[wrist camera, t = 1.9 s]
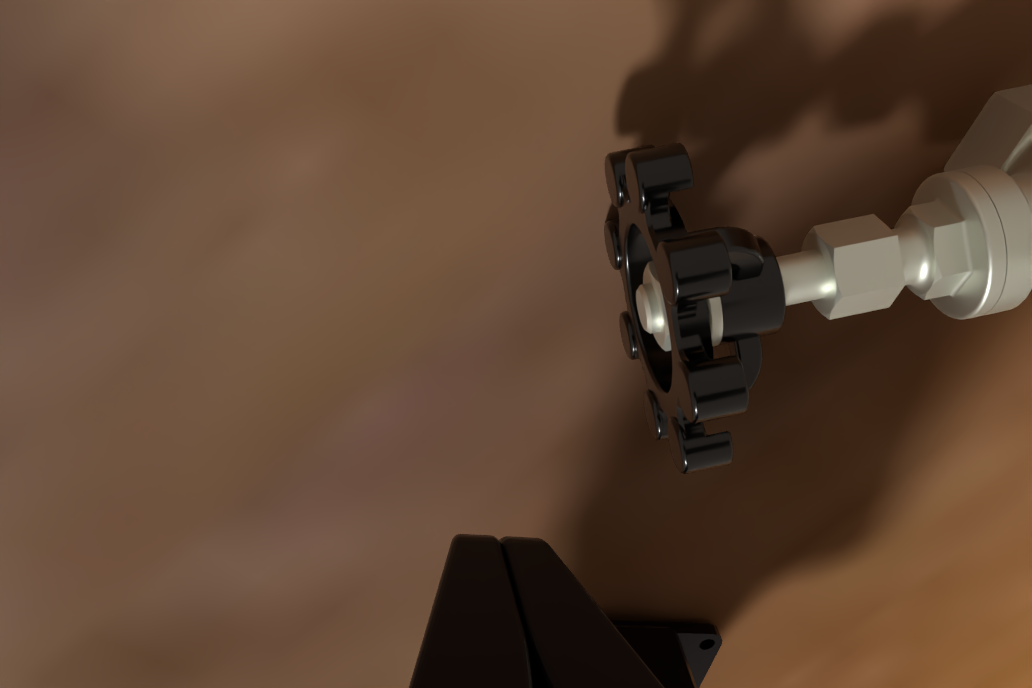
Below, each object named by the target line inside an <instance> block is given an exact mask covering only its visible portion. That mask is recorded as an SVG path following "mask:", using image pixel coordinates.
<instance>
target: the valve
mask: <svg viewBox="0 0 1032 688" xmlns="http://www.w3.org/2000/svg"><path fill="white" fill-rule="evenodd" d="M943 170H944V172H942V173H938V174H934V175H932V176H930V177H928V178H927V179H926V180H925V181H923V182H922V183H921V185H920V186H919V188H918V189H917V191H916V193H915V195H914V197H913V200H912V204H911V206H909V207H908V208H907V209H906V210H905V212H904V213H903V214H902V215H901V216H900V218H899V219H898V221H897V223H896V225H895V227H894V229H890V228H889V227H888V226H887V225H886V224H885V223H883V222H882V221H881V220H880V219H879V218H878V217H877V216H876V215H875V214H870V215H865V216H860V217H855V218H850V219H845V220H840V221H835V222H830V223H825V224H820V225H816V226H813V227H812V228H811V229H810V231H809V232H808V233H807V235H806V237H805V238H804V241H803V244H802V249H801V252H799V253H794V254H789V255H784V256H779V257H776V256H775V254H774V252H773V250H772V248H771V247H770V245H769V244H768V242H767V241H765V240H764V239H763V238H762V237H759V236H754V235H753V234H752V233H750V232H748V231H747V230H744V229H741V228H737V227H716V228H709V229H704V230H699V231H694V232H689V233H687V231H686V229H685V226H684V224H683V221H682V219H681V217H680V215H679V213H678V211H677V209H676V208H675V206H674V204H673V203H672V201H671V200H670V199H669V197H670V192H673V191H678V190H683V189H688V188H692V187H693V186H694V180H693V172H692V167H691V162H690V159H689V156H688V153H687V151H686V149H685V147H684V146H683V145H682V144H681V143H673V144H668V145H663V146H658V147H655V146H654V145H647V146H642V147H637V148H632V149H627V150H622V151H617V152H612V153H609V154H607V156H606V158H605V174H606V181H607V186H608V191H609V194H610V198H611V200H612V202H613V204H614V206H616V207H617V208H618V212H619V219H614V220H609V221H607V222H606V223H605V226H604V234H605V243H606V248H607V253H608V257H609V260H610V263H611V265H612V267H613V268H614V269H615V270H620V273H621V276H622V280H623V285H624V291H625V297H626V303H627V311H624V312H622V313H621V314H620V319H619V322H620V331H621V337H622V341H623V345H624V348H625V351H626V354H627V356H628V357H629V358H630V359H632V360H634V359H639V358H640V360H641V363H642V367H643V370H644V373H645V377H646V381H647V387H648V390H646V391H645V393H644V408H645V414H646V418H647V422H648V426H649V429H650V431H651V434H652V436H653V437H654V438H655V439H656V440H664V439H668V440H669V445H670V449H671V453H672V457H673V459H674V462H675V465H676V467H677V469H678V470H679V471H680V472H681V473H683V474H687V473H692V472H697V471H702V470H706V469H711V468H716V467H720V466H725V465H729V464H731V462H732V460H733V444H732V439H731V434H730V432H728V431H726V432H721V433H717V434H712V435H706V431H705V428H704V425H703V422H705V421H709V420H714V419H719V418H724V417H728V416H733V415H738V414H743V413H745V412H746V411H747V409H748V406H749V390H750V389H751V388H752V386H753V385H754V383H755V381H756V379H757V377H758V375H759V373H760V369H761V365H762V345H761V339H760V336H765V335H769V334H774V333H777V332H778V331H779V330H780V329H781V327H782V326H783V323H784V319H785V311H786V306H787V305H792V304H797V303H802V302H807V301H811V302H812V303H813V305H814V306H815V308H816V309H817V310H818V311H819V312H820V313H821V314H822V315H824V316H825V317H826V318H828V319H829V320H831V319H836V318H841V317H846V316H850V315H855V314H860V313H865V312H870V311H875V310H879V309H884V308H889V307H890V306H891V304H892V303H893V302H894V300H895V299H896V297H897V296H898V294H899V293H900V292H901V290H902V289H903V287H904V286H905V285H906V286H907V287H908V289H909V290H911V291H912V292H913V293H914V294H915V295H917V296H919V297H920V298H922V299H923V300H928V299H929V300H930V301H931V302H932V303H933V304H934V305H935V307H936V308H937V309H939V310H940V311H941V312H942V313H944V314H945V315H947V316H949V317H951V318H955V319H960V320H963V319H969V318H974V317H978V316H983V315H988V314H993V313H998V312H1002V311H1007V310H1011V309H1013V308H1015V307H1017V306H1018V305H1020V304H1021V303H1022V302H1023V301H1024V300H1025V299H1026V298H1027V296H1028V295H1029V293H1030V291H1031V289H1032V84H1031V85H1025V86H1020V87H1015V88H1010V89H1005V90H1000V91H997V92H994V93H993V95H992V96H991V97H990V98H989V100H988V101H987V103H986V104H985V106H984V107H983V109H982V110H981V112H980V113H979V115H978V116H977V118H976V119H975V121H974V122H973V124H972V125H971V127H970V128H969V130H968V131H967V133H966V134H965V136H964V137H963V139H962V140H961V142H960V143H959V145H958V146H957V148H956V149H955V151H954V152H953V154H952V155H951V157H950V158H949V160H948V161H947V163H946V165H945V167H944V169H943ZM726 343H729V349H730V354H731V356H728V357H724V358H719V359H714V360H713V346H717V345H721V344H726Z"/></svg>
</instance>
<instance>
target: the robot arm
mask: <svg viewBox="0 0 1032 688" xmlns="http://www.w3.org/2000/svg"><path fill="white" fill-rule="evenodd" d="M721 644H722V639H721V636H720V634H719V631H718V629H717V627H716V626H714V625H712V624H699V623H666V622H634V621H610V620H609V619H608V617H607V616H606V615H605V614H604V612H603V611H602V610H601V609H600V607H599V606H598V605H597V604H596V602H595V601H594V600H593V599H592V598H591V596H590V595H589V594H588V593H587V591H586V590H585V589H584V588H583V586H582V585H581V584H580V583H579V581H578V580H577V579H576V578H575V576H574V575H573V574H572V573H571V572H570V570H569V569H568V568H567V567H566V565H565V564H564V563H563V562H562V560H561V559H560V558H559V557H558V555H557V554H556V553H555V552H554V551H553V549H552V548H551V547H550V546H549V545H548V543H546V542H545V541H544V540H542V539H539V538H527V537H509V536H507V537H503V538H501V539H500V540H499V541H498V539H497V538H495V537H494V536H490V535H470V534H458V535H456V536H455V537H454V538H453V539H452V542H451V545H450V549H449V552H448V556H447V559H446V562H445V566H444V569H443V573H442V576H441V580H440V583H439V586H438V590H437V593H436V597H435V600H434V604H433V607H432V610H431V614H430V617H429V621H428V624H427V627H426V631H425V634H424V638H423V641H422V645H421V648H420V651H419V655H418V658H417V662H416V665H415V668H414V672H413V675H412V679H411V682H410V686H409V688H699V687H700V685H701V683H702V681H703V679H704V677H705V675H706V673H707V671H708V669H709V668H710V666H711V664H712V662H713V660H714V658H715V656H716V654H717V652H718V650H719V648H720V646H721Z"/></svg>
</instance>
